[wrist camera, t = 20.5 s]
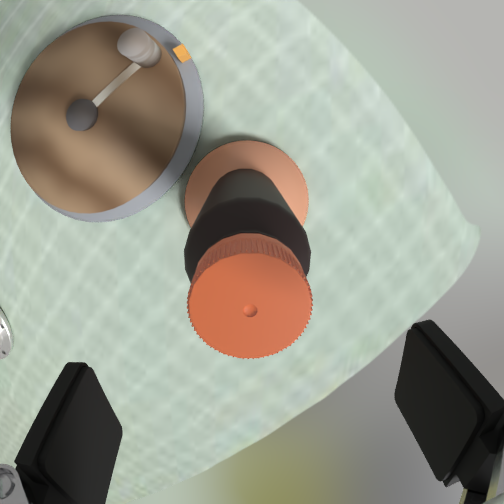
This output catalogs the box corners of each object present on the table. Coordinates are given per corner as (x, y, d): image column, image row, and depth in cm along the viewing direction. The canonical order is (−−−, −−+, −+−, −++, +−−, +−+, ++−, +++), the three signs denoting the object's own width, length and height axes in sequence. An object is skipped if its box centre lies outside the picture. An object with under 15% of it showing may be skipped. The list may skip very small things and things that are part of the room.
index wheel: (132, 240, 32) (108, 267, 25) (1, 164, 28) (-38, 175, 21) (224, 69, 26) (220, 50, 20) (71, 8, 22) (38, -12, 16)
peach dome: (196, 263, 34) (194, 267, 33) (178, 148, 30) (176, 149, 29) (309, 250, 34) (311, 254, 33) (301, 135, 30) (303, 135, 29)
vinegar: (203, 173, 30) (143, 239, 11) (275, 163, 30) (332, 212, 11) (215, 241, 32) (185, 382, 14) (283, 231, 32) (337, 363, 14)
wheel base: (35, 232, 32) (20, 241, 29) (14, 55, 24) (-3, 52, 21) (216, 204, 32) (214, 212, 29) (194, -3, 24) (189, -16, 21)
